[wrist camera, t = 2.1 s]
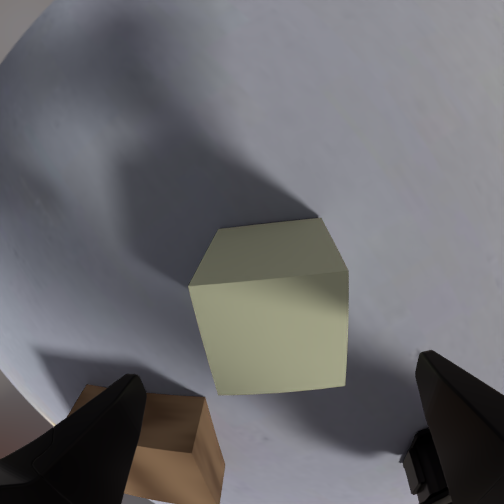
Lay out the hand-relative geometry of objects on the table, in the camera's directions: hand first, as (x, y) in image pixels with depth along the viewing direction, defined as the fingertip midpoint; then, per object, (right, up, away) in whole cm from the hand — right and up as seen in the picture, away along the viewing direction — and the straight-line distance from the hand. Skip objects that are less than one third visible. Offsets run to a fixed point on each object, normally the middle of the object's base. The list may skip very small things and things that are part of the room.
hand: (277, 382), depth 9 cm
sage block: (0, +3, +7) cm, 8 cm away
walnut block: (-9, -11, +14) cm, 19 cm away
